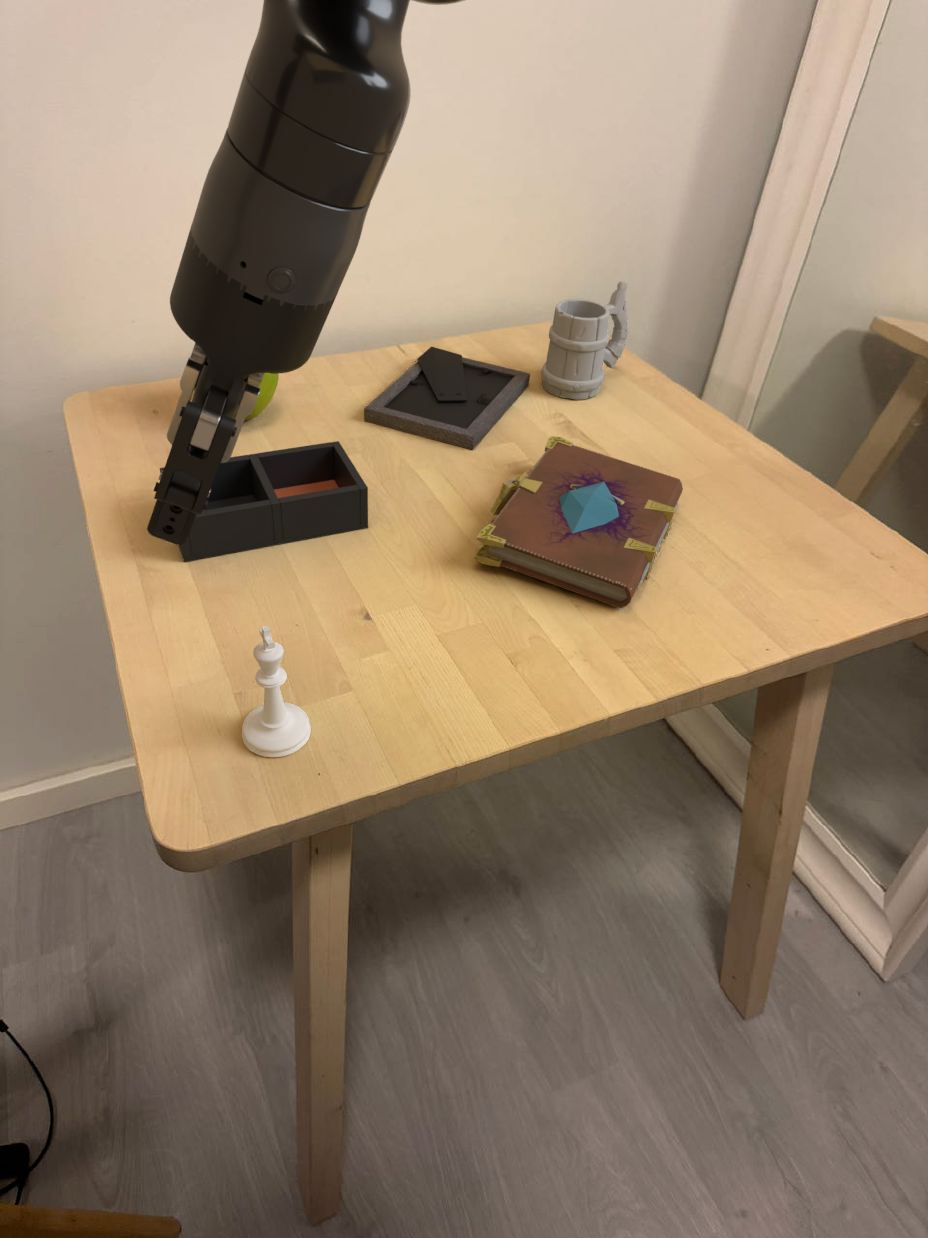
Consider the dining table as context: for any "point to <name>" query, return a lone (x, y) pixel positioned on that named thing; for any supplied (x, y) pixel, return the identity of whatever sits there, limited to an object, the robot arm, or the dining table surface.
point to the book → (582, 522)
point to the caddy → (278, 501)
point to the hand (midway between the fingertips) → (181, 491)
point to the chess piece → (273, 707)
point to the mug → (584, 345)
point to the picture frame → (448, 398)
